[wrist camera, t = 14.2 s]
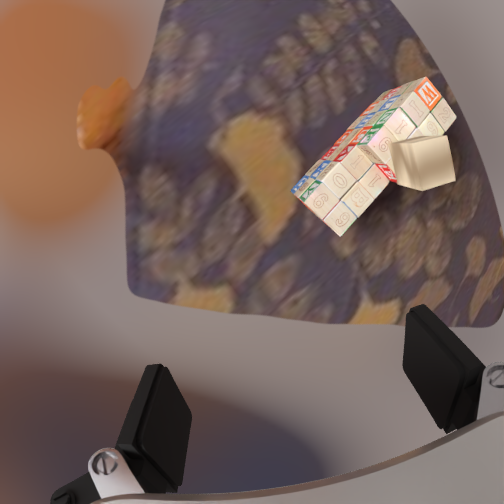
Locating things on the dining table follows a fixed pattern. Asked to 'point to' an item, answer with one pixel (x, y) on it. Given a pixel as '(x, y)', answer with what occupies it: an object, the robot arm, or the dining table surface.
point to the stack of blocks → (371, 153)
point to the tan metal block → (422, 162)
